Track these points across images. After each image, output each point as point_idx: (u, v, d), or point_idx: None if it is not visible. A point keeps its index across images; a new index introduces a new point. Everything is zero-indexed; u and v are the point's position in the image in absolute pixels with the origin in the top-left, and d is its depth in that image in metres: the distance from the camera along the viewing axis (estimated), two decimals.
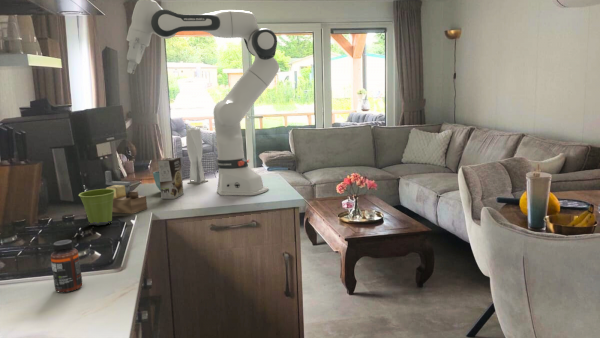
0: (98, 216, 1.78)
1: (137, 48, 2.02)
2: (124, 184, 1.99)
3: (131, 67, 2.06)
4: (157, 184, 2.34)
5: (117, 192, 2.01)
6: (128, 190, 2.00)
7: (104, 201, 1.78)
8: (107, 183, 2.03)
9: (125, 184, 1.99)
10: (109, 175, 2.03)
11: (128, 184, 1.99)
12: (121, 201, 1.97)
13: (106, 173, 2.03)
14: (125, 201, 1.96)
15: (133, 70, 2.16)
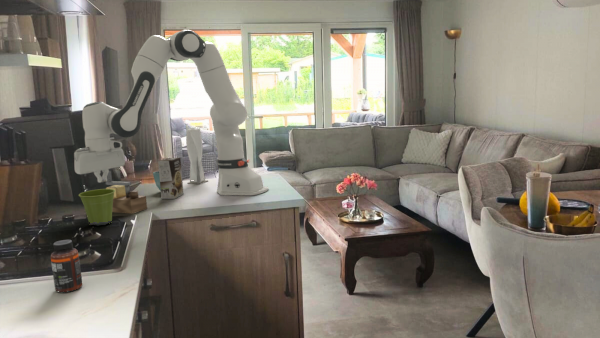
0: (98, 216, 1.78)
1: (79, 160, 1.91)
2: (124, 184, 1.99)
3: (98, 176, 1.99)
4: (157, 184, 2.34)
5: (117, 192, 2.01)
6: (128, 190, 2.00)
7: (104, 201, 1.78)
8: (107, 183, 2.03)
9: (125, 184, 1.99)
10: (109, 175, 2.03)
11: (128, 184, 1.99)
12: (121, 201, 1.97)
13: None
14: (125, 201, 1.96)
15: None
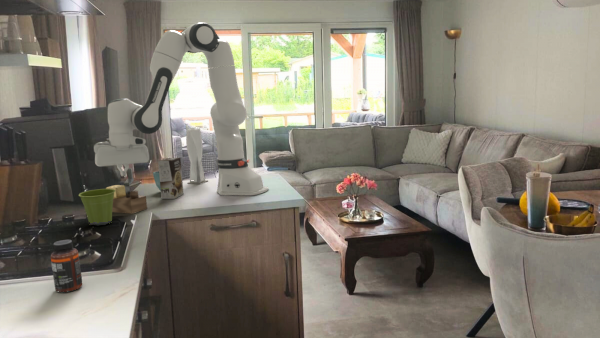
0: (98, 216, 1.78)
1: (97, 153, 2.00)
2: (124, 184, 2.00)
3: (120, 170, 2.06)
4: (157, 184, 2.34)
5: (117, 192, 2.01)
6: (126, 190, 2.00)
7: (104, 201, 1.78)
8: None
9: (124, 184, 2.00)
10: (129, 172, 2.08)
11: (125, 184, 1.99)
12: (121, 201, 1.97)
13: (127, 170, 2.08)
14: (125, 201, 1.96)
15: None
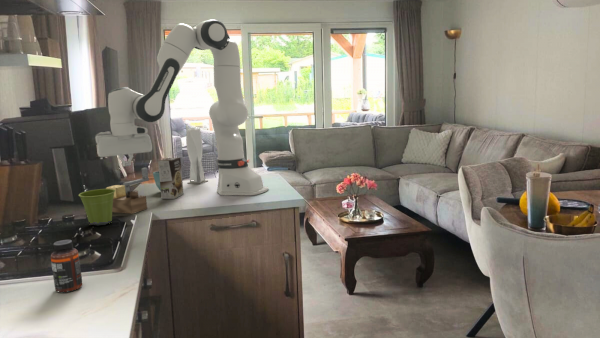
0: (98, 216, 1.78)
1: (98, 143, 1.97)
2: None
3: (121, 160, 2.03)
4: (157, 184, 2.34)
5: (117, 192, 2.01)
6: (125, 190, 2.00)
7: (104, 201, 1.78)
8: None
9: None
10: (142, 172, 2.07)
11: (124, 184, 1.99)
12: (121, 201, 1.97)
13: None
14: (125, 201, 1.96)
15: (126, 162, 2.04)
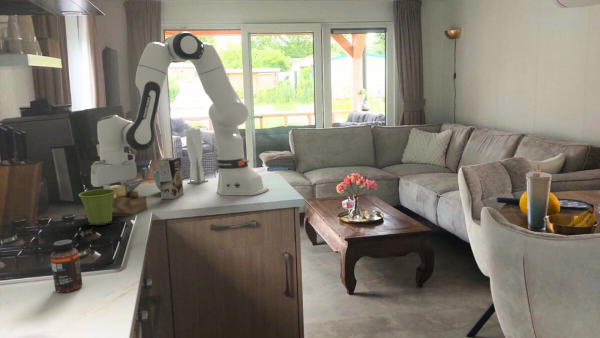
0: (98, 216, 1.78)
1: (96, 173, 1.93)
2: None
3: None
4: (157, 184, 2.34)
5: (117, 192, 2.01)
6: (125, 190, 2.00)
7: (104, 201, 1.78)
8: None
9: None
10: (142, 172, 2.07)
11: (124, 184, 1.99)
12: (121, 201, 1.97)
13: None
14: (125, 201, 1.96)
15: None
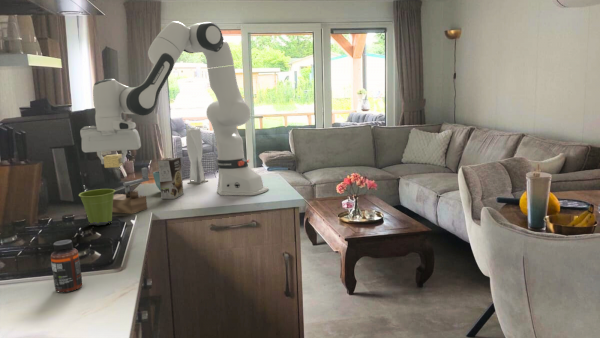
0: (98, 216, 1.78)
1: (82, 138, 1.88)
2: None
3: None
4: (157, 184, 2.34)
5: (106, 161, 1.88)
6: (125, 190, 2.00)
7: (104, 201, 1.78)
8: None
9: None
10: (142, 172, 2.07)
11: (124, 184, 1.99)
12: (121, 201, 1.97)
13: None
14: (125, 201, 1.96)
15: (119, 159, 1.90)
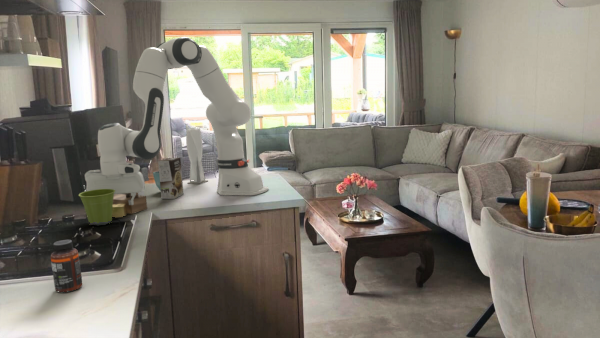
0: (98, 216, 1.78)
1: None
2: None
3: None
4: (157, 184, 2.34)
5: (112, 212, 1.91)
6: None
7: (104, 201, 1.78)
8: None
9: None
10: (142, 172, 2.07)
11: None
12: (121, 201, 1.97)
13: None
14: (125, 201, 1.96)
15: (128, 201, 1.93)
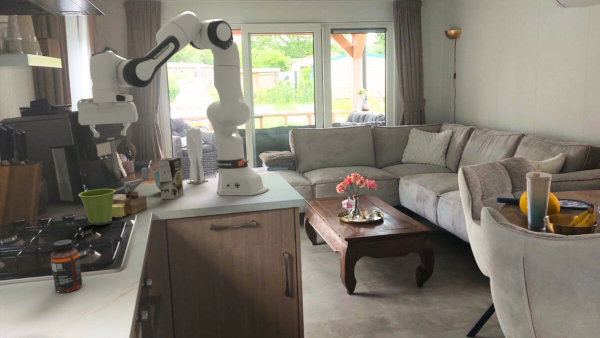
0: (98, 216, 1.78)
1: (78, 110, 1.86)
2: None
3: None
4: (157, 184, 2.34)
5: (112, 212, 1.91)
6: (125, 190, 2.00)
7: (104, 201, 1.78)
8: None
9: None
10: (142, 172, 2.07)
11: (124, 184, 1.99)
12: (121, 201, 1.97)
13: None
14: (125, 201, 1.96)
15: None
